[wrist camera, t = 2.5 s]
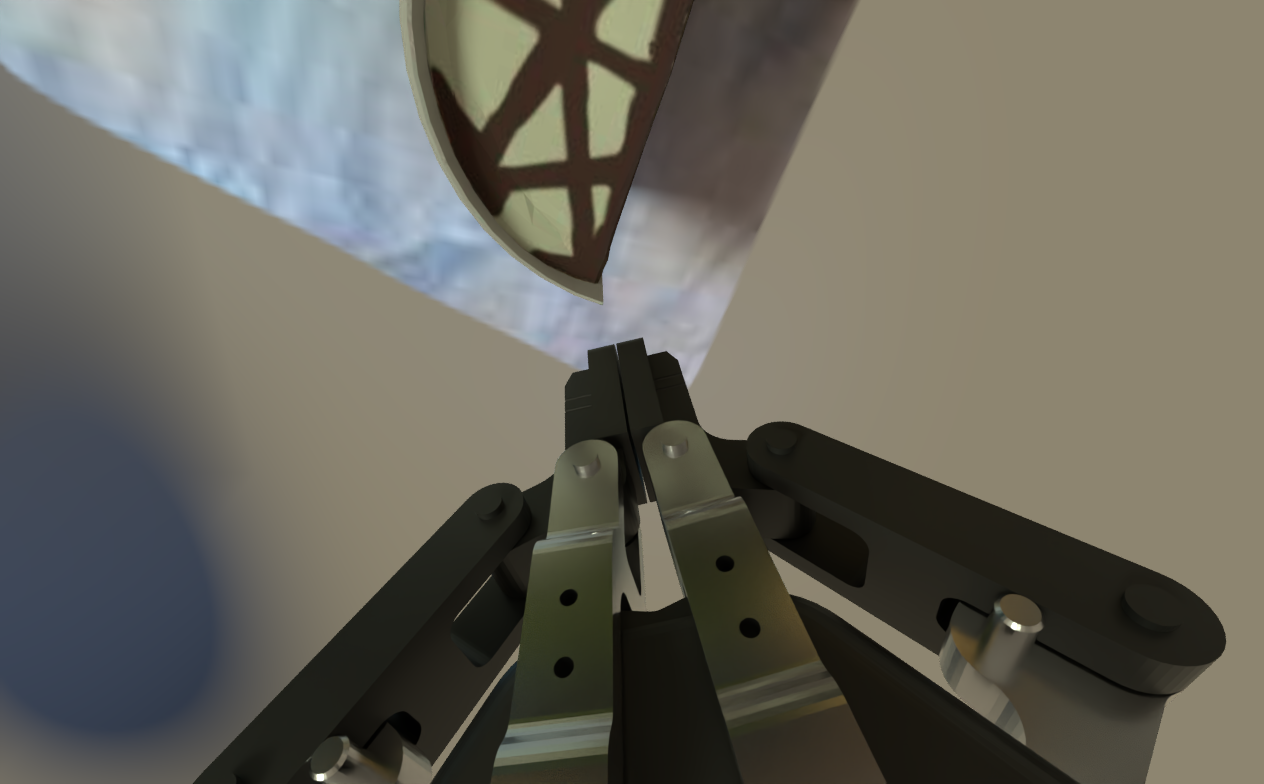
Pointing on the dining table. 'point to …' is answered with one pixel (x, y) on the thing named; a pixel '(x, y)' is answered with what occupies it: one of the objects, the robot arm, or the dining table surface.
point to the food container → (542, 116)
